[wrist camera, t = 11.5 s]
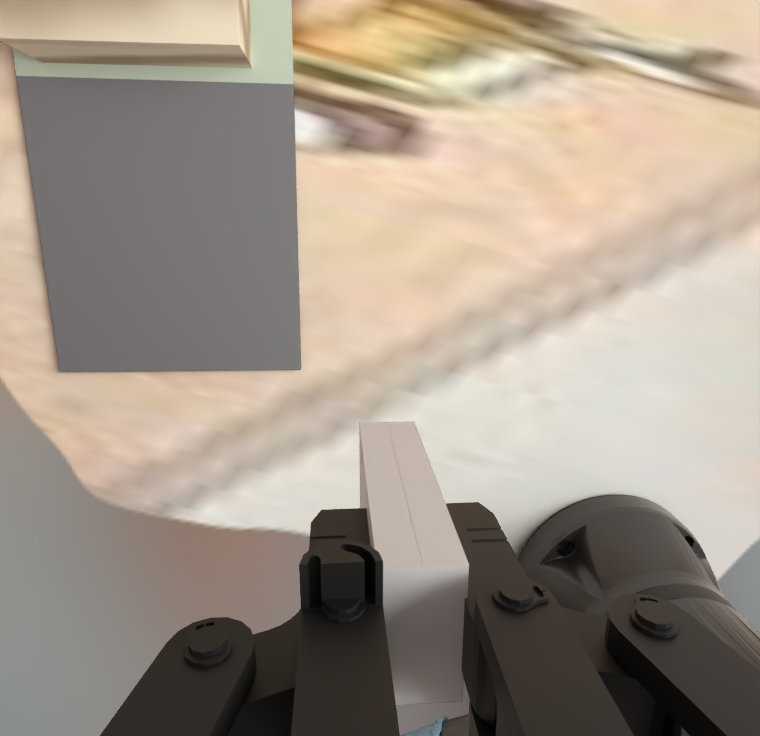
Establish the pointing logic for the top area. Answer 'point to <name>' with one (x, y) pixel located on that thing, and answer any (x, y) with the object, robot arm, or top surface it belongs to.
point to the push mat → (169, 208)
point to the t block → (130, 31)
